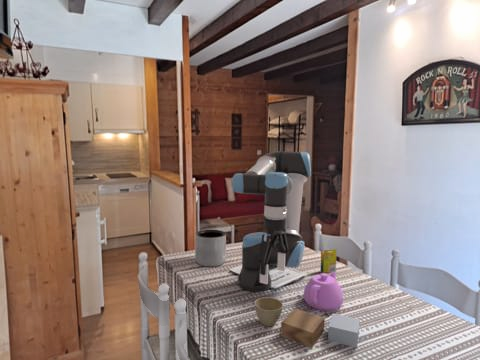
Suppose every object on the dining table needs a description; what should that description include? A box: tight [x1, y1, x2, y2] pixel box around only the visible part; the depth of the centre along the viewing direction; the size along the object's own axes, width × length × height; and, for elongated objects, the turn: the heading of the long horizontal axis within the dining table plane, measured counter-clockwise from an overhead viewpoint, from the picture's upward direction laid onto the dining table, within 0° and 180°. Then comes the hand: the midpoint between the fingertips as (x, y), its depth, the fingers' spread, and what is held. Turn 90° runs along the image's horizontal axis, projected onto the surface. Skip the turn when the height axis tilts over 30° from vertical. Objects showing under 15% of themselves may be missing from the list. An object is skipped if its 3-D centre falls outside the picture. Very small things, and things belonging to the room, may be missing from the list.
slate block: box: [327, 312, 361, 348], centre depth 112 cm, size 9×9×5 cm
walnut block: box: [280, 308, 326, 349], centre depth 114 cm, size 11×11×5 cm
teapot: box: [302, 271, 344, 312], centre depth 135 cm, size 22×16×12 cm
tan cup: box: [254, 296, 284, 327], centre depth 120 cm, size 10×10×7 cm
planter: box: [194, 229, 227, 268], centre depth 176 cm, size 16×16×16 cm
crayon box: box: [320, 248, 337, 274], centre depth 168 cm, size 7×3×12 cm, turn 108°
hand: (272, 276), depth 118 cm, fingers open, 13 cm apart
